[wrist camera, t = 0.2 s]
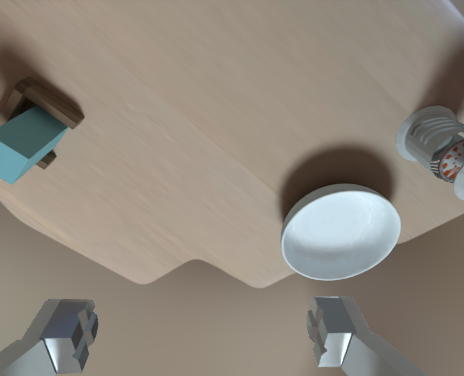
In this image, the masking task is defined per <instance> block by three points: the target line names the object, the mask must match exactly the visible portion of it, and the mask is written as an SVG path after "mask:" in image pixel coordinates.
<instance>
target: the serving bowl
mask: <svg viewBox="0 0 464 376" xmlns="http://www.w3.org/2000/svg"><path fill="white" fill-rule="evenodd" d="M400 230H401V220H400V216H399V214H398V211H397V210H396V208H395V207H394V206H393V204H392V203H391V202H390V201H389V200H387V199H386V198H385V197H384V196H382V195H381V194H379V193H378V192H376V191H374V190H372V189H370V188H368V187H365V186H361V185H356V184H334V185H329V186H325V187H322V188H319V189H317V190H315V191H313V192H311V193H309V194H307V195H306V196H304V197H303V198H302V199H301V200H299V201H298V202H297V203H296V204H295V205H294V206H293V208H292V209H291V210H290V212H289V213H288V215H287V217H286V219H285V221H284V223H283V227H282V231H281V250H282V254H283V257H284V259H285V261H286V262H287V264H288V265H289V266H290V267H291V268H292V269H293V270H295V271H296V272H298V273H299V274H301V275H303V276H306V277H309V278H312V279H318V280H338V279H344V278H348V277H352V276H355V275H357V274H360V273H362V272H364V271H367V270H368V269H370V268H372V267H373V266H375V265H377V264H378V263H379V262H380V261H382V260H383V259H384V258H385V257H386V256H387V255H388V254H389V253H390V252H391V250H392V249H393V248H394V246H395V244H396V242H397V240H398V238H399V235H400Z"/></svg>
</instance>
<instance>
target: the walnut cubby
mask: <svg viewBox="0 0 464 376" xmlns="http://www.w3.org/2000/svg"><path fill="white" fill-rule="evenodd" d="M28 99H30V100H31V101H32V102H34V103H35V104H37V105H38V106H40V107H41V108H42V109H44V110H45V111H47V112H48V113H50V114H51V115H53V116H54V117H55V118H57V119H58V120H60V121H61V122H63V123H64V124H65V125H67V126H68V127H70V128H71V129H74V128H75V127H76V126H77V125H79V124H80V123H81V122H82V120H83V119H84V116H82V115H81V114H80V113H78V112H77V111H75V110H74V109H73V108H71V107H70V106H69V105H67V104H66V103H64V102H63V101H62V100H60V99H59V98H58V97H56V96H55V95H53V94H52V93H51V92H49V91H48V90H47V89H45V88H44V87H43V86H41V85H40V84H38V83H37V82H36V81H34V80H33V79H32V78H30V77H29V78H27V79H24V80H22V81H20V82H18V83H17V85H16V86H15V88H14V90H13V92H12V93H11V95H10V97H9V99H8V101H7V102H6V104H5V106H4V108H3V109H2V111H1V113H0V126H1V125H3V124H5V123H7V122H8V121H10V120H12V119H13V118H15V117H17V116H19V114H20V112H21V111H22V109H23V107H24V106H25V104H26V102H27V101H28ZM56 157H57V156H55V155H54V154H52V153H51V152H49V153H47V154H46V155H45V156H44V157H43V158H42V159H41V160H39V161H38V162H37V163H36V165H38V166H39V167H41V168H42V169H44V170H45V169H46V168H47V167H48V166H49V165H50V164H51V163H52V162H53V161H54V159H55V158H56Z"/></svg>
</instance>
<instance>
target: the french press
mask: <svg viewBox="0 0 464 376" xmlns="http://www.w3.org/2000/svg"><path fill="white" fill-rule="evenodd" d="M459 132H463V133H464V124H462V123H460V122H458V121H457V120H456V115H455V114H454V113H453V112H452V111H451V110H450V109H449V108H446V107H443V106H440V105H437V106H429V107H425V108H423V109H421V110H419V111H417V112H415V113H413V114H412V115H411V116H410V117H409V118H408V119H407V120H405V121H404V123H403V124H402V126H401V128H400V129H399V131H398V133H397V138H396V143H395V144H396V147H397V151H398V153H399V154H400V155H401V156H402V157H404V158H405V159H408V160H412V161H418V162H419V163H421V164H422V165H423V166H424V167H425V168H427V169H428V170H429V171H430V172H431V173H432V174H434V175H435V176H436V177H437V178H440V179H443V180H444V181H446V182H450V183H453V186H454V192H455V194H456V195H457V196H458V197H459V198H460V199H461V200H464V138H463V137H462V136H460V135H458V134H457V133H459ZM438 160H440V162H438V163H431V162H434V161H438ZM430 165H439V166H438V167H435V166H430ZM431 168H438V170H435V169H431ZM433 171H435V172H433ZM436 172H439V173H436Z"/></svg>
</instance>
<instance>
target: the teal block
mask: <svg viewBox="0 0 464 376" xmlns="http://www.w3.org/2000/svg"><path fill="white" fill-rule="evenodd" d="M68 128H69V127H68V126H67V125H65V124H64V123H63V122H61V121H60V120H58V119H57V118H55V117H54V116H53V115H51V114H50V113H48V112H47V111H45V110H44V109H42V108H41V107H40V106H38V105H36V106H34V107H33V108H31V109H29V110H27V111H26V112H24V113H22V114H20V115H19V116H17V117H15V118H13V119H12V120H10V121H8V122H7V123H5V124H3V125H1V126H0V178H1V179H3V180H5V181H6V182H8V183H10V184H13V183H15V182H16V181H17V180H18V179H19V178H20V177H21V176H22V175H24V174H25V173H26V172H27V171H28V170H29V169H30V168H32V167H33V166H34V165H35V164H36V163H37V162H38V161H39V160H41V159H42V158H43V157H44V156H45V155H46V154H47V153H49V152H50V151H51V150H52V149H53V148H54V147H55V146H56V145H57V143H58V142H59V140H60V139H61V138H62V136H63V135H64V133H65V132H66V130H67V129H68Z"/></svg>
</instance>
